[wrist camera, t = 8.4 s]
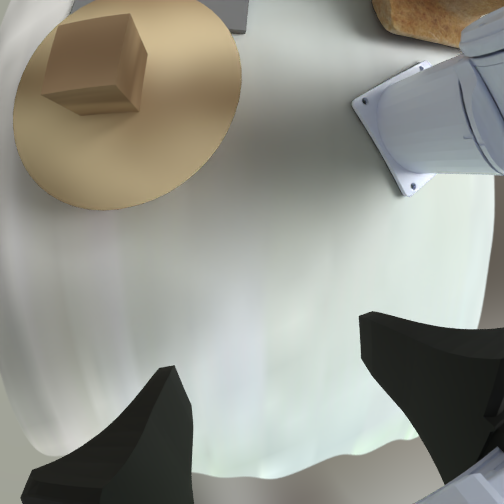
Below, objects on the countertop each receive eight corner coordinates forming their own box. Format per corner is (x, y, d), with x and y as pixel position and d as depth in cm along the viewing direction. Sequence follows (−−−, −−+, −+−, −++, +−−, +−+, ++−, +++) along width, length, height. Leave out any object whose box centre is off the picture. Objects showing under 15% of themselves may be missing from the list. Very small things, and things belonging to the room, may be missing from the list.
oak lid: (45, 14, 10) (11, -22, 5) (247, -3, 12) (262, -57, 7) (13, 210, 12) (-43, 222, 8) (231, 211, 14) (243, 223, 10)
